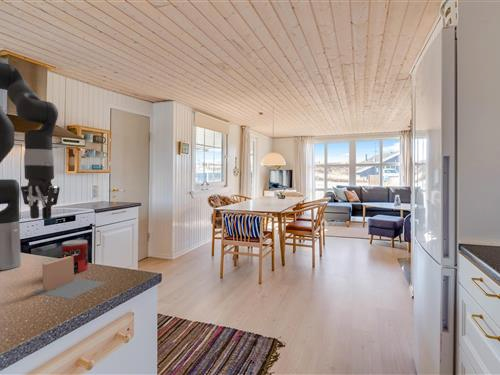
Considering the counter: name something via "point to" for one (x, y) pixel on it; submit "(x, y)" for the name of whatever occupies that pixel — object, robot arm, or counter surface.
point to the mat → (71, 288)
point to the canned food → (76, 253)
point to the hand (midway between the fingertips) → (40, 218)
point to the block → (58, 273)
